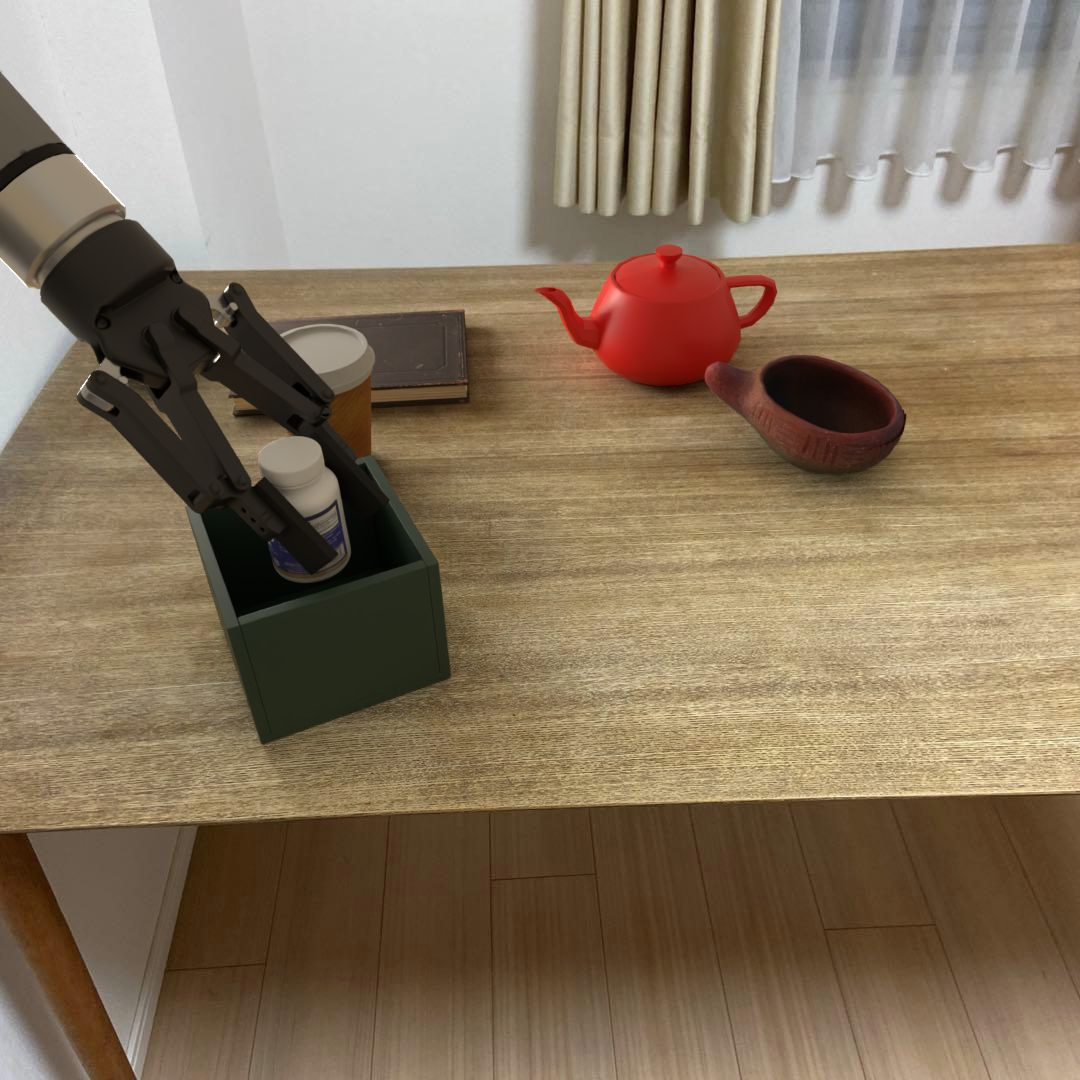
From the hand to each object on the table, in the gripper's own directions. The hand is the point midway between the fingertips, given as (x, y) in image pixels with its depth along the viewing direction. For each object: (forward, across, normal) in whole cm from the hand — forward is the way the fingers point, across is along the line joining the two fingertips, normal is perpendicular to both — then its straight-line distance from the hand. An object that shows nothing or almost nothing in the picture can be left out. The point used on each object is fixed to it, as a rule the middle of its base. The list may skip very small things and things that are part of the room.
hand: (351, 536), depth 66 cm
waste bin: (+6, 0, -11) cm, 12 cm away
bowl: (+24, -37, +7) cm, 45 cm away
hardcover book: (-9, -35, -26) cm, 44 cm away
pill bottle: (0, 0, -5) cm, 5 cm away
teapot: (+11, -48, -6) cm, 50 cm away
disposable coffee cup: (-3, -19, -20) cm, 28 cm away
